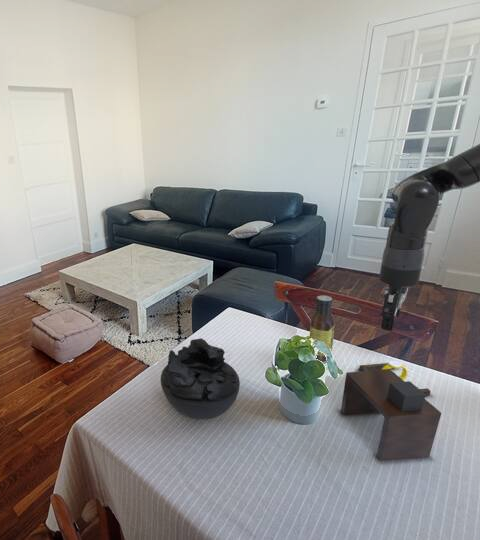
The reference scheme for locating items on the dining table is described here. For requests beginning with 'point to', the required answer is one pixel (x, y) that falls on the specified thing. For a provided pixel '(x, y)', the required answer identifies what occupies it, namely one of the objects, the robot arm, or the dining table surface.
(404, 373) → the watch
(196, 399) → the bowl of black rocks
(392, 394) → the charcoal block
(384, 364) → the low rack
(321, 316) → the sauce bottle
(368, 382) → the high shelf
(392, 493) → the dining table surface
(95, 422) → the dining table surface
